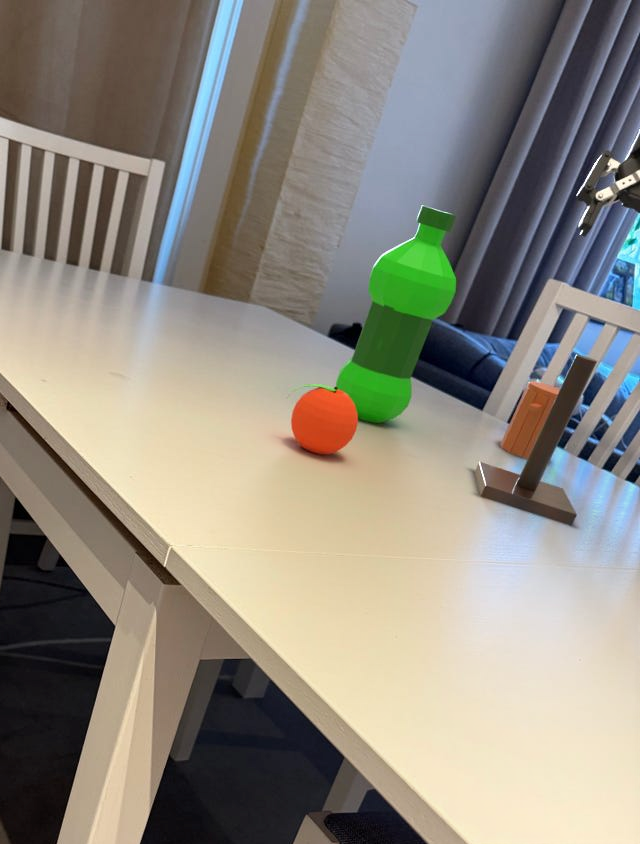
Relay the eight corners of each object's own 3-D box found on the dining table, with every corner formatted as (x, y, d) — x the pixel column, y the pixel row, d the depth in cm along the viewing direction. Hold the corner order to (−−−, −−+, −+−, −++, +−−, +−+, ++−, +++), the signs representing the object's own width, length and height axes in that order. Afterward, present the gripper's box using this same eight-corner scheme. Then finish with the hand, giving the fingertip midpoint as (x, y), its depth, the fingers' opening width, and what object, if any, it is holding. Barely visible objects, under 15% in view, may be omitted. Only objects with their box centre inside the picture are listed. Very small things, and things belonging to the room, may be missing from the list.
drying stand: (557, 500, 107) (624, 364, 100) (570, 527, 99) (645, 380, 91) (473, 473, 108) (534, 336, 101) (479, 498, 100) (546, 350, 92)
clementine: (267, 445, 96) (289, 378, 93) (279, 431, 102) (299, 368, 99) (340, 470, 95) (365, 403, 92) (348, 454, 101) (371, 391, 98)
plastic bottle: (309, 402, 119) (379, 193, 107) (356, 403, 126) (427, 207, 114) (369, 432, 113) (451, 214, 101) (416, 431, 120) (497, 227, 108)
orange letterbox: (508, 443, 128) (537, 380, 124) (551, 461, 125) (582, 396, 121) (487, 449, 121) (516, 382, 117) (531, 468, 119) (563, 400, 114)
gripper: (631, 95, 114) (576, 205, 113) (739, 142, 113) (685, 254, 111) (603, 135, 122) (552, 239, 120) (705, 179, 120) (654, 285, 119)
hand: (616, 246), depth 116 cm, fingers open, 8 cm apart
